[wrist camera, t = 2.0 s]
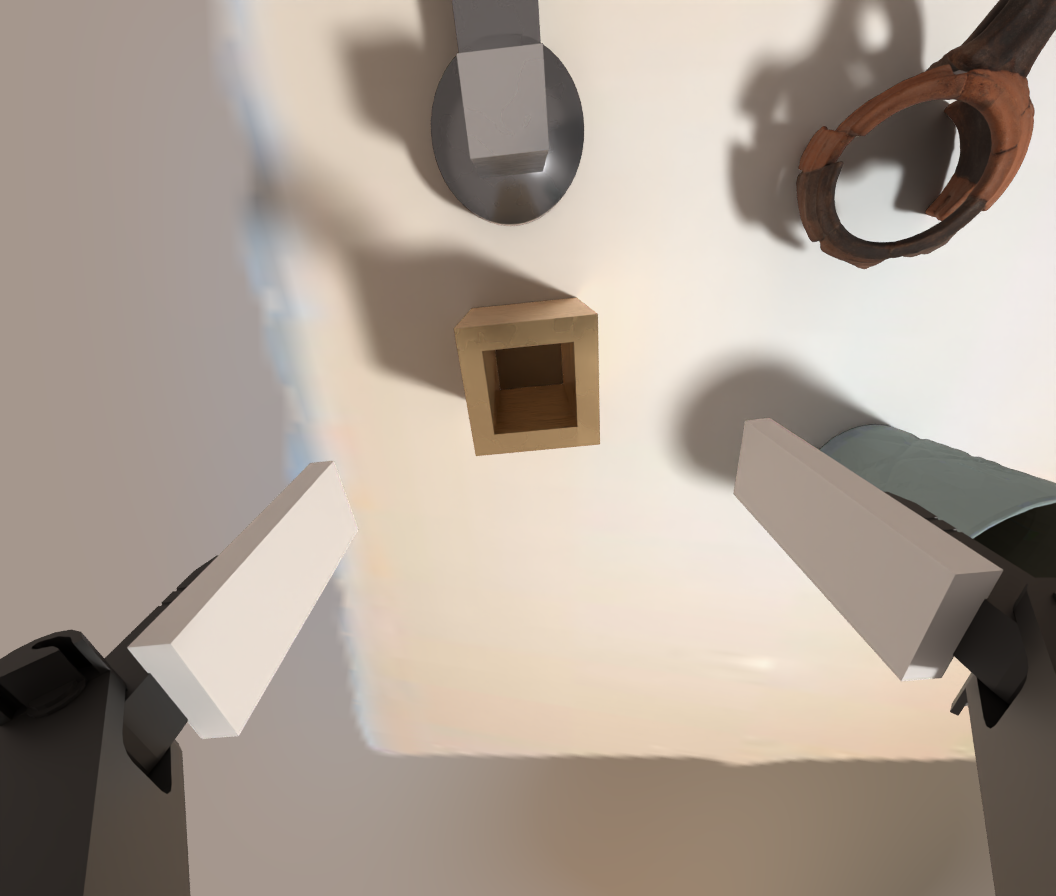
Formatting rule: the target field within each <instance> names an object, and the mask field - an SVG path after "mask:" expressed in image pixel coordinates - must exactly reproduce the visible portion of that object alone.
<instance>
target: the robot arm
mask: <svg viewBox="0 0 1056 896" xmlns="http://www.w3.org/2000/svg"><path fill="white" fill-rule="evenodd" d="M734 495H735V496H736V497H737V499H738V500H739V501H740V502H741V503H742V504H743V505H744V506H745V507H746V509H747V510H748V511H749V512H750V513H751V514H752V515H753V516H754V517H755V519H756V520H757V521H758V522H759V523H760V524H761V525H762V526H763V528H764V529H765V530H766V531H767V532H768V533H769V534H770V535H771V536H772V538H773V539H774V540H775V541H776V542H777V543H778V544H779V545H780V546H781V548H782V549H783V550H784V551H785V552H786V553H787V554H788V555H789V557H790V558H791V559H792V560H793V561H794V562H795V563H796V564H797V565H798V567H799V568H800V569H801V570H802V571H803V572H804V573H805V574H806V575H807V577H808V578H809V579H810V580H811V581H812V582H813V583H814V584H815V586H816V587H817V588H818V589H819V590H820V591H821V592H822V593H823V594H824V596H825V597H826V598H827V599H828V600H829V601H830V602H831V603H832V604H833V606H834V607H835V608H836V609H837V610H838V611H839V612H840V613H841V615H842V616H843V617H844V618H845V619H846V620H847V621H848V622H849V623H850V625H851V626H852V627H853V628H854V629H855V630H856V631H857V632H858V634H859V635H860V636H861V637H862V638H863V639H864V640H865V641H866V642H867V644H868V645H869V646H870V647H871V648H872V649H873V650H874V651H875V652H876V654H877V655H878V656H879V657H880V658H881V659H882V660H883V661H884V663H885V664H886V665H887V666H888V667H889V668H890V669H891V670H892V671H893V673H894V674H895V675H896V676H897V677H898V678H899V679H900V680H901V681H910V680H922V679H934V678H942V676H943V675H944V673H945V671H946V669H947V668H948V666H949V664H950V662H951V661H952V659H953V657H954V656H955V657H956V658H957V659H958V660H959V661H960V662H961V663H962V664H963V665H964V666H965V667H967V668H968V669H969V670H970V671H971V674H970V676H969V677H968V679H967V680H966V682H965V684H964V685H963V687H962V689H961V690H960V692H959V693H958V695H957V697H956V698H955V700H954V701H953V703H952V706H951V710H950V712H951V713H954V714H956V715H959V714H960V712H961V711H962V709H963V708H964V706H967V705H968V708H969V715H970V721H971V728H972V735H973V742H974V749H975V756H976V763H977V770H978V777H979V783H980V791H981V797H982V804H983V811H984V818H985V825H986V832H987V839H988V846H989V853H990V860H991V867H992V873H993V880H994V886H995V894H996V896H1056V578H1035V577H1033V576H1031V575H1030V574H1028V573H1027V572H1025V571H1023V570H1022V569H1020V568H1019V567H1017V566H1015V565H1014V564H1012V563H1011V562H1009V561H1007V560H1006V559H1004V558H1003V557H1001V556H999V555H998V554H996V553H995V552H993V551H991V550H990V549H988V548H987V547H985V546H983V545H982V544H980V543H979V542H977V541H976V540H974V539H972V538H971V537H969V536H968V535H966V534H964V533H963V532H957V529H956V528H955V527H953V526H952V525H950V524H948V523H947V522H945V521H944V520H938V517H937V516H936V515H934V514H932V513H931V512H929V511H928V510H926V509H924V508H923V507H921V506H920V505H918V504H916V503H915V502H912V501H910V500H907V499H905V498H902V497H900V496H897V495H895V494H892V493H890V492H883V491H881V490H880V489H878V488H877V487H875V486H874V485H872V484H871V483H869V482H868V481H866V480H864V479H863V478H861V477H860V476H858V475H857V474H855V473H854V472H852V471H851V470H849V469H848V468H846V467H844V466H843V465H841V464H840V463H838V462H837V461H835V460H834V459H832V458H831V457H829V456H828V455H826V454H825V453H823V452H821V451H820V450H818V449H817V448H815V447H814V446H812V445H811V444H809V443H808V442H806V441H805V440H803V439H802V438H800V437H798V436H797V435H795V434H794V433H792V432H791V431H789V430H788V429H786V428H785V427H783V426H782V425H780V424H778V423H777V422H775V421H774V420H772V419H771V418H762V419H752V420H745V424H744V430H743V436H742V443H741V449H740V456H739V462H738V468H737V475H736V481H735V487H734ZM357 531H358V527H357V524H356V521H355V518H354V516H353V513H352V510H351V507H350V504H349V502H348V499H347V496H346V493H345V491H344V488H343V485H342V482H341V479H340V477H339V474H338V471H337V468H336V466H335V463H334V461H326V462H316V463H310V464H309V465H308V466H307V467H306V468H305V469H304V470H303V471H302V472H301V473H300V474H299V475H298V476H297V477H296V478H295V479H294V480H293V481H292V482H291V483H290V484H289V485H288V486H287V487H286V488H285V489H284V490H283V491H282V492H281V493H280V494H279V495H278V496H277V497H276V498H275V499H274V500H273V501H272V502H271V503H270V505H268V506H267V507H266V508H265V509H264V510H263V511H262V512H261V513H260V514H259V515H258V516H257V517H256V518H255V519H254V520H253V522H251V523H250V524H249V526H247V527H246V528H245V530H243V531H242V532H241V534H239V535H238V536H237V537H236V539H234V540H233V541H232V542H231V544H230V545H228V546H227V547H226V548H225V550H223V551H222V552H221V553H220V555H218V556H216V557H214V558H213V559H211V560H210V561H208V562H207V563H205V564H204V565H202V566H201V567H199V568H198V569H196V570H195V571H194V572H193V573H192V574H191V575H189V576H188V578H186V579H185V580H184V581H183V582H182V583H181V584H180V585H179V586H178V587H177V591H175V592H172V593H171V594H170V595H169V596H168V597H167V598H166V599H165V600H164V601H163V602H162V606H158V607H157V608H156V609H155V610H154V611H153V612H152V613H151V614H150V615H149V616H148V617H147V618H146V619H144V620H143V621H142V622H141V623H140V624H139V625H138V626H137V627H136V628H135V629H134V630H133V631H132V632H131V634H129V635H128V636H127V637H126V638H125V639H124V640H123V641H122V642H121V643H120V644H119V645H118V646H117V647H116V648H115V649H114V650H113V651H112V652H111V653H110V654H109V655H108V656H107V657H106V658H105V659H104V658H103V657H102V655H100V653H99V652H98V651H97V650H96V649H95V647H94V646H93V645H92V644H91V643H90V642H89V641H88V639H87V638H86V637H85V636H84V635H83V634H82V633H81V632H79V631H75V630H67V631H61V632H55V633H52V634H50V635H47V636H44V637H41V638H39V639H36V640H34V641H32V642H30V643H28V644H26V645H24V646H22V647H20V648H18V649H16V650H14V651H12V652H11V653H9V654H8V655H6V656H5V657H3V658H1V659H0V896H190V882H189V865H188V846H187V829H186V811H185V795H184V776H183V760H182V759H183V758H182V750H181V748H180V746H179V744H178V743H177V741H176V740H175V738H176V737H177V736H178V734H179V733H180V731H181V730H182V729H183V727H184V725H185V724H186V723H187V722H188V723H189V724H190V725H191V727H192V728H193V729H194V730H195V731H196V732H197V734H198V735H199V736H200V737H201V739H206V738H218V737H231V736H239V734H240V732H241V731H242V729H243V728H244V726H245V724H246V722H247V721H248V719H249V717H250V715H251V714H252V712H253V710H254V709H255V707H256V705H257V703H258V701H259V700H260V698H261V697H262V695H263V693H264V691H265V690H266V688H267V686H268V684H269V683H270V681H271V679H272V678H273V676H274V674H275V672H276V671H277V669H278V667H279V666H280V664H281V662H282V660H283V659H284V657H285V655H286V653H287V652H288V650H289V648H290V646H291V645H292V643H293V641H294V640H295V638H296V636H297V634H298V633H299V631H300V629H301V628H302V626H303V624H304V622H305V621H306V619H307V617H308V616H309V614H310V612H311V610H312V609H313V607H314V605H315V603H316V602H317V600H318V598H319V597H320V595H321V593H322V591H323V590H324V588H325V586H326V584H327V583H328V581H329V579H330V578H331V576H332V574H333V572H334V571H335V569H336V567H337V566H338V564H339V562H340V560H341V559H342V557H343V555H344V553H345V552H346V550H347V548H348V547H349V545H350V543H351V541H352V540H353V538H354V536H355V534H356V533H357Z"/></svg>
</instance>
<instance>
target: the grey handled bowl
mask: <svg viewBox="0 0 1056 896" xmlns="http://www.w3.org/2000/svg"><path fill="white" fill-rule="evenodd" d="M452 4H453V12H454V20H455V28H456V35H457V43H458V51H459V53H457V55H456V56H455V58H454V59H453V60H452V61H451V62H450V64H449V65H448V67H447V69H446V70H445V72H444V74H443V76H442V78H441V80H440V82H439V85H438V88H437V90H436V93H435V97H434V102H433V107H432V116H431V136H432V145H433V149H434V154H435V158H436V161H437V164H438V167H439V170H440V172H441V174H442V176H443V178H444V180H445V182H446V184H447V185H448V187H449V189H450V190H451V191H452V193H453V194H454V195H455V196H456V198H457V199H458V200H459V201H460V202H461V203H462V204H463V205H464V206H465V207H466V208H468V209H469V210H470V211H471V212H473V213H474V214H475V215H477V216H478V217H480V218H482V219H484V220H486V221H488V222H491V223H494V224H498V225H504V226H518V225H523V224H527V223H530V222H533V221H535V220H537V219H539V218H541V217H542V216H543V215H545V214H546V213H548V212H549V211H550V210H551V209H552V208H553V207H554V206H555V205H556V204H557V203H558V202H559V200H560V199H561V198H562V197H563V195H564V194H565V193H566V191H567V189H568V188H569V186H570V185H571V183H572V181H573V179H574V177H575V175H576V172H577V169H578V166H579V163H580V159H581V155H582V150H583V142H584V120H583V112H582V106H581V102H580V98H579V95H578V92H577V89H576V87H575V84H574V82H573V80H572V78H571V76H570V74H569V73H568V71H567V69H566V67H565V66H564V65H563V64H562V62H561V61H560V60H559V58H558V57H557V56H556V55H555V54H554V53H553V52H552V51H551V50H550V49H548V48H547V47H546V46H544V45H543V43H541V42H540V25H539V9H538V0H452Z"/></svg>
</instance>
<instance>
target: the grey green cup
mask: <svg viewBox="0 0 1056 896" xmlns="http://www.w3.org/2000/svg"><path fill="white" fill-rule="evenodd" d="M820 451H821V452H823V453H825V454H826V455H828V456H829V457H831V458H832V459H834V460H835V461H837V462H838V463H840V464H841V465H843V466H844V467H846V468H848V469H849V470H851V471H852V472H854V473H855V474H857V475H858V476H860V477H861V478H863V479H864V480H866V481H868V482H869V483H871V484H872V485H874V486H875V487H877V488H878V489H880V490H881V491H883V492H890V493H892V494H895V495H897V496H900V497H902V498H905V499H907V500H910V501H912V502H915V503H916V504H918V505H920V506H921V507H923V508H924V509H926V510H928V511H929V512H931V513H932V514H934V515H936V516H937V517H938V520H944V521H945V522H947V523H948V524H950V525H952V526H953V527H955V528H956V529H957V532H963V533H964V534H966V535H968V536H969V537H971V538H972V539H974V540H976V541H977V542H979V543H980V544H982V545H983V546H985V547H987V548H988V549H990V550H991V551H993V552H995V553H996V554H998V555H999V556H1001V557H1003V558H1004V559H1006V560H1007V561H1009V562H1011V563H1012V564H1014V565H1015V566H1017V567H1019V568H1020V569H1022V570H1023V571H1025V572H1027V573H1028V574H1030V575H1031V576H1033V577H1035V578H1056V483H1054V482H1051V481H1048V480H1045V479H1041V478H1038V477H1035V476H1032V475H1029V474H1026V473H1023V472H1020V471H1017V470H1013V469H1010V468H1007V467H1004V466H1001V465H1000V464H998V463H996V462H993V461H989V460H986V459H984V458H981V457H973V456H971V455H969V454H968V453H966V452H964V451H961V450H958V449H954V448H951V447H949V446H946V445H943V444H940V443H936V442H934V441H931V440H928V439H920V438H918V437H916V436H915V435H913V434H911V433H908V432H906V431H903V430H900V429H897V428H894V427H890V426H885V425H865V426H860V427H856V428H853V429H850V430H848V431H845V432H843V433H841V434H839V435H838V436H836V437H834V438H832V439H831V440H830V441H829V442H827V443H826V444H825V445H824V446H823V447H821V448H820Z"/></svg>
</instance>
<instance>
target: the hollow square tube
mask: <svg viewBox="0 0 1056 896" xmlns="http://www.w3.org/2000/svg"><path fill="white" fill-rule="evenodd" d="M454 333H455V339H456V345H457V351H458V356H459V362H460V368H461V374H462V379H463V385H464V391H465V396H466V402H467V408H468V414H469V419H470V425H471V431H472V437H473V442H474V448H475V454H476V456H481V455H492V454H503V453H513V452H524V451H535V450H545V449H556V448H566V447H577V446H588V445H598V444H600V419H599V358H598V314H597V313H596V312H595V311H593V310H592V309H591V308H589V307H588V306H587V305H585V304H584V303H583V302H582V301H580V300H579V299H578V298H566V299H556V300H547V301H537V302H528V303H518V304H508V305H499V306H489V307H479V308H471V310H470V311H469V312H468V313H467V314H466V315H465V316H464V318H463V319H462V320H461V321H460V322H459V323H458V324H457V326H456V327H455V328H454ZM556 343H561V355H562V372H563V384H553V385H543V386H533V387H523V388H513V389H502V390H500V382H499V375H498V367H497V360H496V352H495V350H497V349H507V348H517V347H527V346H537V345H547V344H556Z"/></svg>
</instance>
